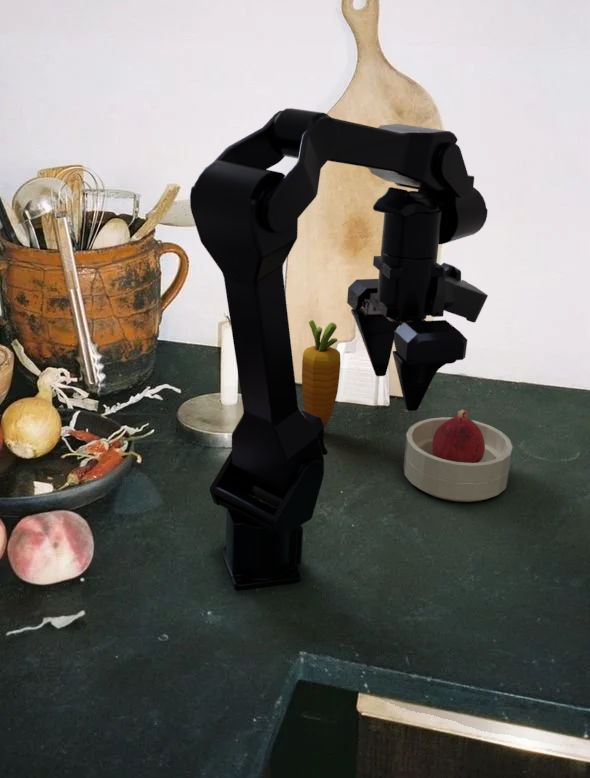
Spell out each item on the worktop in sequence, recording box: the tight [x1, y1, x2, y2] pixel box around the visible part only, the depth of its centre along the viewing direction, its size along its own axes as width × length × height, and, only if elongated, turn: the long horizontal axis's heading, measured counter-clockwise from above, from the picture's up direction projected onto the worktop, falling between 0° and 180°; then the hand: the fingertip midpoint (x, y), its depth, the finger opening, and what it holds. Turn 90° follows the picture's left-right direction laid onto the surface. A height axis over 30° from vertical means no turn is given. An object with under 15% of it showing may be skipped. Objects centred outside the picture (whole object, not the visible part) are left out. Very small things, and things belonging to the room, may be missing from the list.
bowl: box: [402, 416, 514, 503], centre depth 106 cm, size 12×12×5 cm
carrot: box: [301, 319, 341, 428], centre depth 114 cm, size 5×5×15 cm
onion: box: [432, 409, 485, 463], centre depth 105 cm, size 6×6×8 cm
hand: (395, 392), depth 101 cm, fingers open, 9 cm apart
